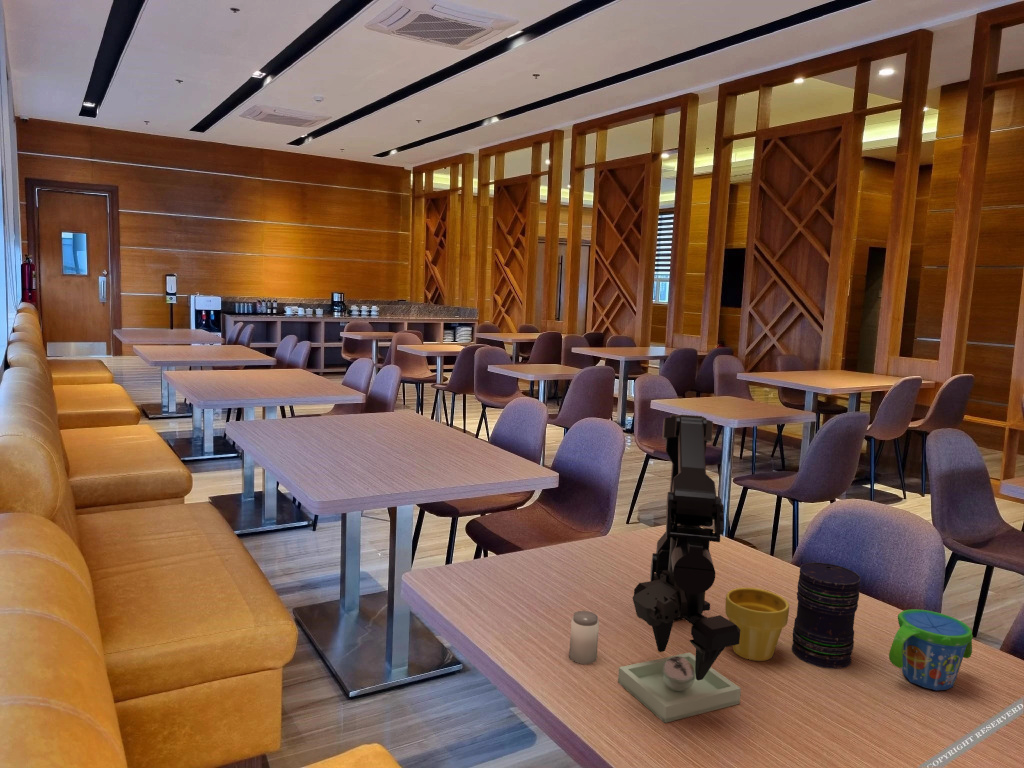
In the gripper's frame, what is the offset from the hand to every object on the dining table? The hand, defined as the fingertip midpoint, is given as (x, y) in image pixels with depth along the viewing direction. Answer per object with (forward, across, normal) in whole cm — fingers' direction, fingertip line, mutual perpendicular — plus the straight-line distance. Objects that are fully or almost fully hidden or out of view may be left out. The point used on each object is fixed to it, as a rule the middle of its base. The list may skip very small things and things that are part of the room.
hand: (679, 665), depth 116 cm
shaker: (+5, -15, -8) cm, 18 cm away
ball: (+4, 0, 0) cm, 4 cm away
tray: (+5, 0, 0) cm, 5 cm away
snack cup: (+5, +12, +42) cm, 44 cm away
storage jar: (+5, -1, +32) cm, 32 cm away
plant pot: (+5, -6, +21) cm, 22 cm away
